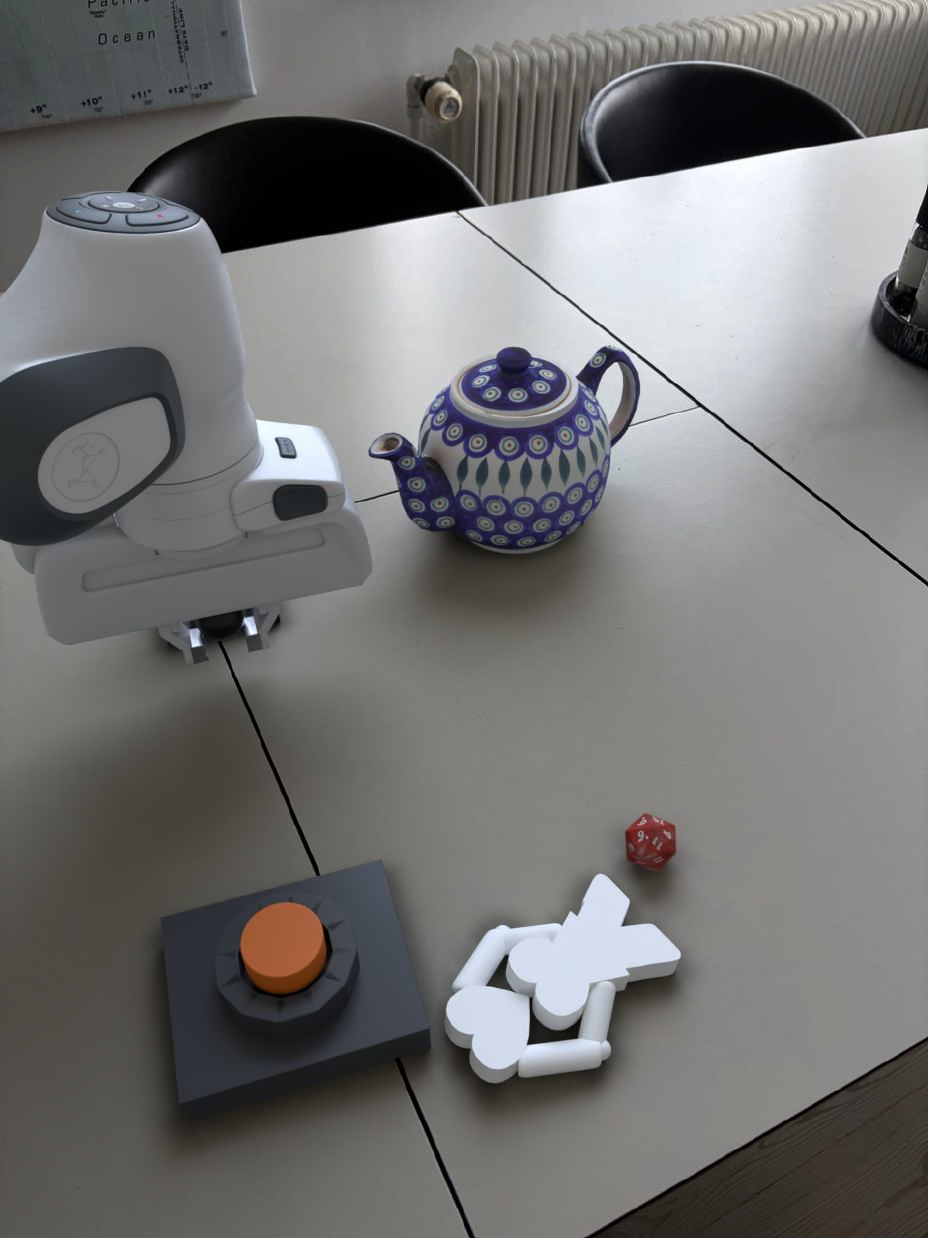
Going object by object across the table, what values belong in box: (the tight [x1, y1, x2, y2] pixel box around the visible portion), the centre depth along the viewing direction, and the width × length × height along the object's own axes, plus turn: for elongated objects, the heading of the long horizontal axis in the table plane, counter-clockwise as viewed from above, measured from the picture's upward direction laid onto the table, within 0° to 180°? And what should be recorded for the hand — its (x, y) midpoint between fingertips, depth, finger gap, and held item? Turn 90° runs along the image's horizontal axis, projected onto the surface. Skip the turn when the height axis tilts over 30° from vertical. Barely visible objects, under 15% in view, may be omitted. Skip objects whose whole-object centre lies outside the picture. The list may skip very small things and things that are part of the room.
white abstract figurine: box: [443, 873, 682, 1084], centre depth 52 cm, size 9×12×2 cm
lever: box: [195, 610, 245, 642], centre depth 67 cm, size 13×3×3 cm, turn 17°
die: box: [624, 812, 677, 873], centre depth 57 cm, size 3×3×3 cm
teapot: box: [367, 345, 641, 555], centre depth 77 cm, size 25×15×15 cm, turn 122°
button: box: [240, 902, 326, 994], centre depth 49 cm, size 4×4×2 cm
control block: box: [160, 859, 432, 1123], centre depth 51 cm, size 12×10×4 cm
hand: (227, 650), depth 67 cm, fingers closed on lever, 3 cm apart
